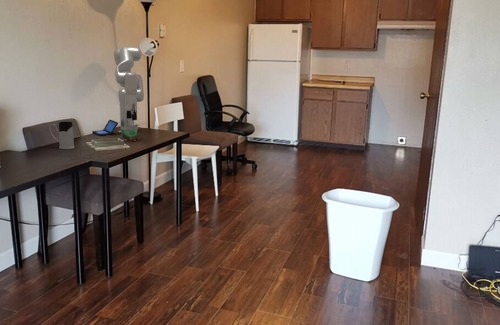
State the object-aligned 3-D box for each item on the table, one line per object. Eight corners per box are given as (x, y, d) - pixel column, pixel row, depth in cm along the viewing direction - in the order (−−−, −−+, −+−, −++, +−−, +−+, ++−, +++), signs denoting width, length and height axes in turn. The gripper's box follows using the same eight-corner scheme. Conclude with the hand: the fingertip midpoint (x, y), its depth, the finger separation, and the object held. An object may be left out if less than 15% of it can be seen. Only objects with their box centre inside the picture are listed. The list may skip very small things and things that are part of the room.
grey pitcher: (70, 149, 270) (69, 124, 266) (47, 148, 271) (45, 122, 267) (77, 146, 278) (75, 121, 275) (54, 145, 279) (52, 120, 275)
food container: (127, 142, 294) (127, 127, 292) (121, 141, 298) (121, 126, 295) (142, 140, 304) (142, 125, 302) (136, 139, 307) (136, 124, 305)
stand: (86, 144, 286) (86, 138, 285) (118, 141, 297) (117, 136, 296) (96, 151, 268) (96, 145, 267) (129, 148, 279) (129, 142, 278)
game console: (91, 133, 323) (90, 120, 321) (110, 131, 331) (110, 119, 329) (99, 136, 311) (98, 123, 309) (118, 135, 319) (118, 122, 317)
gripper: (120, 91, 298) (121, 118, 302) (130, 93, 284) (130, 121, 288) (132, 91, 302) (132, 117, 306) (141, 93, 288) (142, 120, 292)
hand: (131, 119), depth 297 cm, fingers open, 9 cm apart
